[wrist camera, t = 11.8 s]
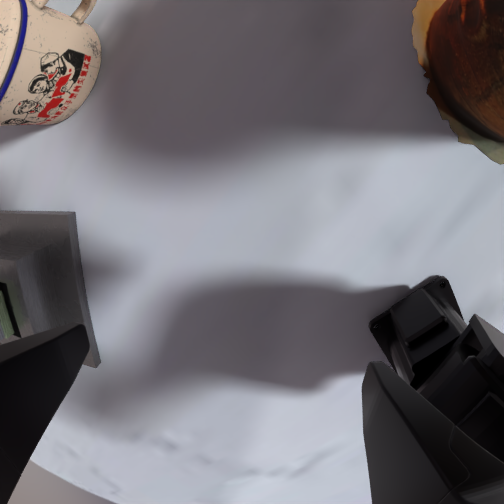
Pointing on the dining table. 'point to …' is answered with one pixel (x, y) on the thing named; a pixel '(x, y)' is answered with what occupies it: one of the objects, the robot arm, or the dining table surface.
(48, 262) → the stand base
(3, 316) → the column
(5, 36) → the teacup with lid
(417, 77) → the dining table surface
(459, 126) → the vessel
